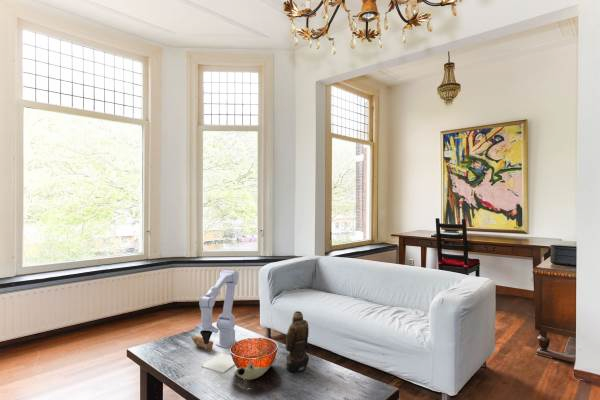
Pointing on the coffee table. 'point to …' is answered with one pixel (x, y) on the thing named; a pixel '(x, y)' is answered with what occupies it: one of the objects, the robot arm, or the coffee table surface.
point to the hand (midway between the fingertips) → (206, 343)
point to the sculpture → (297, 344)
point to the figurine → (202, 343)
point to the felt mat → (220, 363)
